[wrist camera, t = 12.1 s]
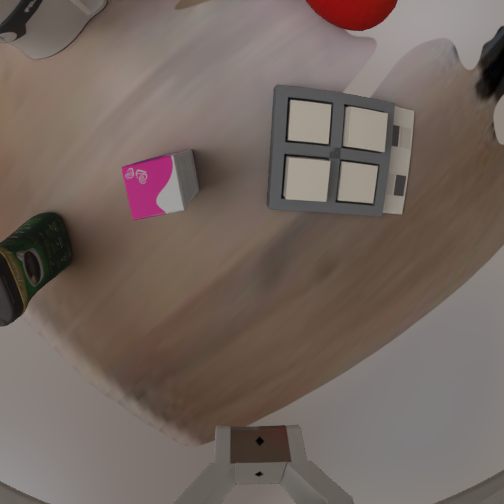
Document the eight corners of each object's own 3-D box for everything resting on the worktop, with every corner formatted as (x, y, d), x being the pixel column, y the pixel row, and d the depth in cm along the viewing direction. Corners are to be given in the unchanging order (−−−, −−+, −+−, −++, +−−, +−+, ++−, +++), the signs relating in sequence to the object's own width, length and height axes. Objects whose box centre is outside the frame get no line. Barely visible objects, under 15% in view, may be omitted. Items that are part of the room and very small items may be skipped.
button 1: (336, 159, 39) (342, 161, 37) (370, 163, 39) (377, 166, 37) (332, 196, 41) (338, 200, 39) (366, 199, 41) (373, 203, 39)
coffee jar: (26, 216, 40) (-50, 263, 23) (62, 207, 40) (-16, 255, 23) (43, 271, 44) (-20, 333, 27) (79, 266, 44) (17, 334, 27)
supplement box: (192, 147, 38) (175, 154, 28) (200, 191, 41) (187, 214, 30) (150, 156, 38) (119, 167, 28) (159, 198, 41) (132, 224, 30)
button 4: (287, 101, 36) (290, 99, 34) (326, 105, 36) (331, 104, 34) (285, 139, 38) (288, 140, 36) (323, 143, 38) (328, 144, 36)
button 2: (344, 107, 35) (350, 106, 33) (379, 113, 35) (387, 113, 33) (341, 145, 37) (347, 146, 35) (376, 150, 37) (384, 152, 35)
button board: (274, 87, 36) (276, 84, 33) (412, 111, 37) (423, 110, 34) (266, 203, 42) (268, 209, 39) (400, 213, 43) (409, 219, 40)
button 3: (286, 155, 37) (289, 157, 35) (325, 159, 37) (330, 161, 35) (283, 195, 39) (285, 199, 37) (321, 197, 39) (326, 201, 37)
